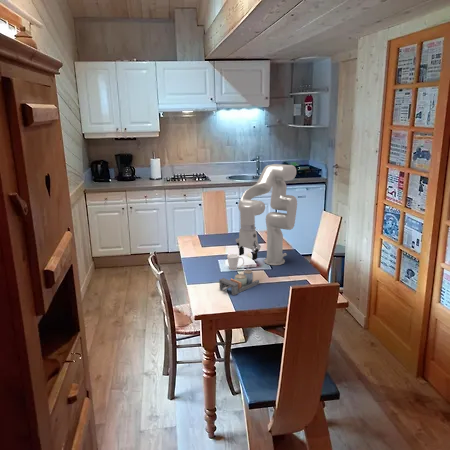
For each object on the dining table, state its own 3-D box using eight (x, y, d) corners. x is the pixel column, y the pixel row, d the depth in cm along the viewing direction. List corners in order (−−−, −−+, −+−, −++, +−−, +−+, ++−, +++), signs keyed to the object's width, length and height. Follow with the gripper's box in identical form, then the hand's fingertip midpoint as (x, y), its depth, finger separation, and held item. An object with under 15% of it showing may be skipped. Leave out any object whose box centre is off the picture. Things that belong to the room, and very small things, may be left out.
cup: (227, 266, 253) (226, 253, 251) (243, 265, 253) (243, 253, 251) (227, 270, 246) (227, 257, 244) (244, 270, 247) (244, 257, 244)
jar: (247, 280, 232) (247, 268, 230) (254, 283, 229) (254, 271, 227) (241, 283, 229) (241, 271, 227) (248, 285, 226) (248, 273, 224)
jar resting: (240, 282, 230) (240, 272, 228) (249, 286, 225) (249, 275, 223) (232, 286, 225) (232, 276, 224) (240, 290, 221) (240, 279, 219)
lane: (245, 278, 235) (245, 269, 233) (259, 283, 228) (259, 274, 226) (219, 289, 222) (219, 279, 220) (233, 295, 214) (233, 285, 213)
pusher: (231, 285, 225) (231, 278, 224) (241, 289, 220) (241, 282, 219) (218, 291, 219) (218, 283, 218) (228, 295, 214) (228, 288, 213)
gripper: (264, 228, 216) (264, 259, 222) (240, 222, 228) (241, 251, 234) (255, 232, 211) (255, 263, 217) (231, 225, 223) (231, 255, 229)
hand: (248, 257), depth 225 cm, fingers open, 9 cm apart
